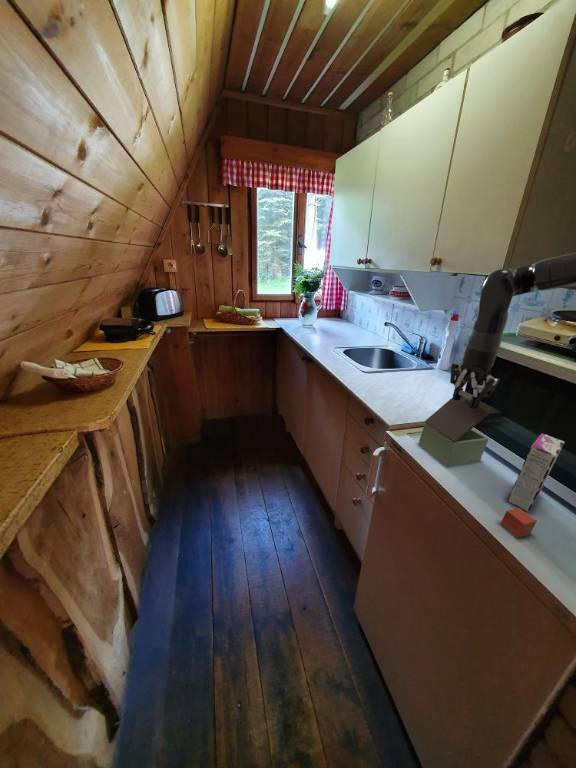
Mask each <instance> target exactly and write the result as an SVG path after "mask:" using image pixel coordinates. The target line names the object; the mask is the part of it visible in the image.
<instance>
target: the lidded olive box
mask: <svg viewBox="0 0 576 768" xmlns="http://www.w3.org/2000/svg"><path fill="white" fill-rule="evenodd" d="M489 440H490V439H489V438H488V437H487V436H485V435H484V434H481V433H480V432H478V431H476V430H474V429H473V428H472V429H471V430H470V431H469V432H467V433H466V434H465V435H464V436H463V437H462V438H460V439H459V440H458V441H457V442H456V443H455V442H453V441H452V440H450V439H449V438H447V437H446V436H444V435H443V434H442V433H440V432H439V431H437V430H436V429H434V428H433V427H431V426H430V425H428V424H427V423H425V422H424V425H423V428H422V431H421V434H420V438H419V441H418V443H417V444H418V446H419V447H421V448H422V449H423V450H425V451H426V452H427V453H429V454H430V455H431V456H432V457H433V458H435V459H436V460H437V461H438V462H440V463H441V464H442V465H443V466H445V467H452V466H459V465H464V464H470V463H475V462H481V459H482V457H483V454H484V452H485V450H486V447H487V445H488V443H489Z"/></svg>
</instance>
